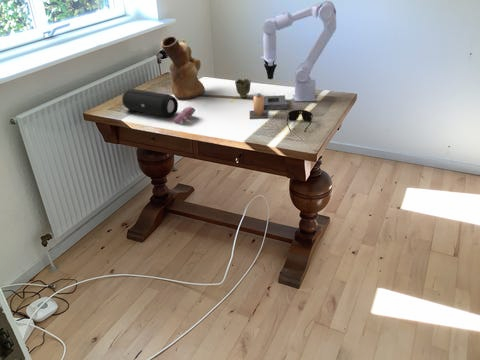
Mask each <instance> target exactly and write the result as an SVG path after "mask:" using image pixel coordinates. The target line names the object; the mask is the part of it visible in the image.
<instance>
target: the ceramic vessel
mask: <svg viewBox="0 0 480 360" xmlns="http://www.w3.org/2000/svg"><path fill="white" fill-rule="evenodd" d="M160 44H161V47H162V49H163V51H164V52H165V54H166V55H167V56H168V58H169V60H171V63H170V65H169V71H170V74H171V79H172V80H171V81H172V85H171V90H172V94H173V95H174V97H175V98H176V99H182V100H184V99H185V100H186V99H192V98H196V97H198V96H200V95H202V94H203V93H205V91H206V89H205V86H204V84H203V83H202V82H201V80H200V79H198V74H199V73H198V72H200V69H201V61H200V59H199V58H195V57H193V56H192V49H191V47H190V46H189V45H188V44H187V43H186V40H185V39H181V42H179V40H178V38H177V37H176V36H168V37H165V38H163V39H162V40H161V42H160Z"/></svg>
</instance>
